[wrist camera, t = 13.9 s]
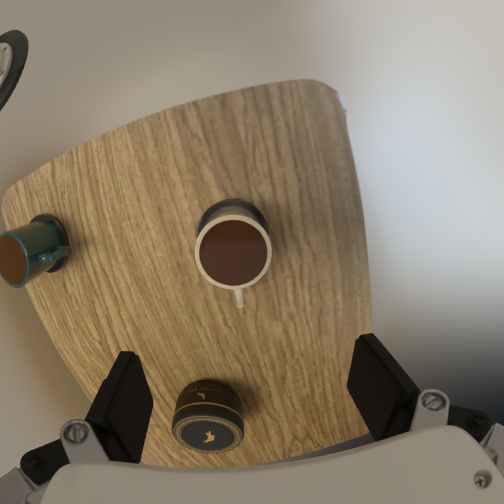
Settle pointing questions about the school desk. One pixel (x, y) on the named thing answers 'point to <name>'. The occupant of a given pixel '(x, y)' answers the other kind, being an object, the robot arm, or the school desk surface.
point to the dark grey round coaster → (232, 203)
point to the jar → (208, 418)
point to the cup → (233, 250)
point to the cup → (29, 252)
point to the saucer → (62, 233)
